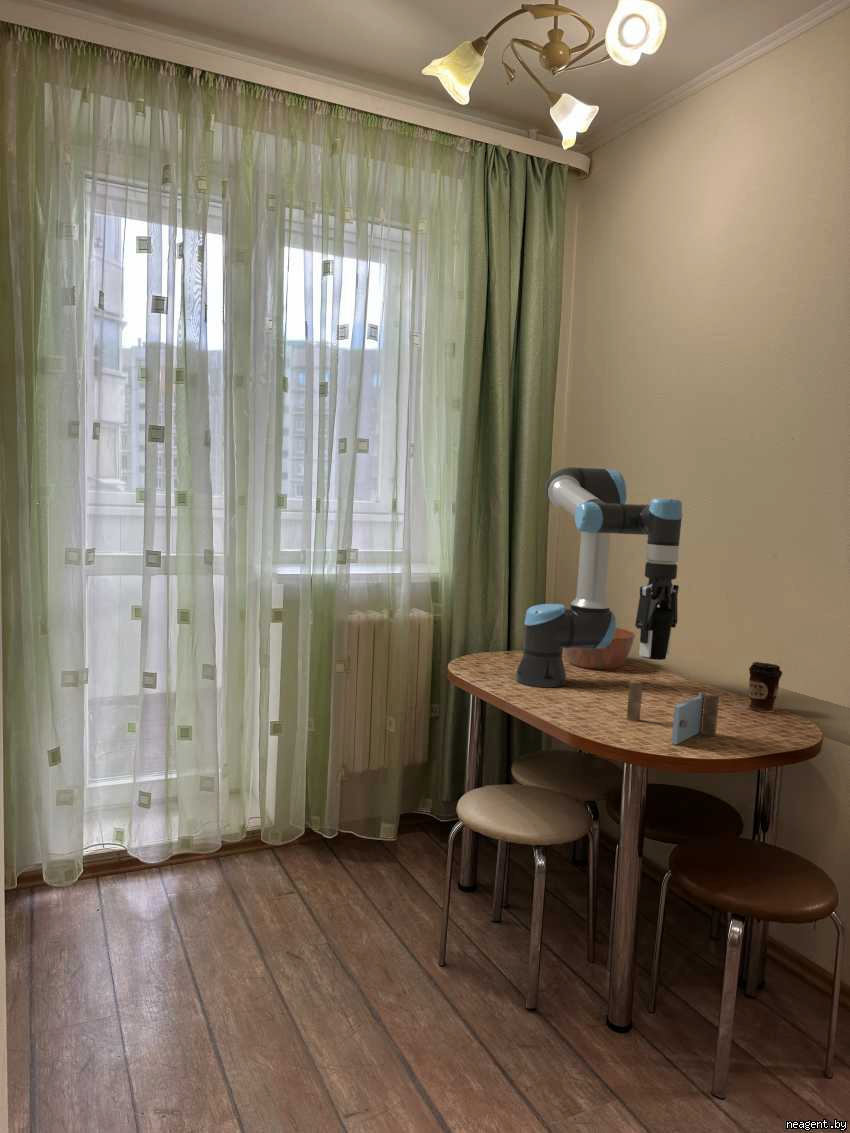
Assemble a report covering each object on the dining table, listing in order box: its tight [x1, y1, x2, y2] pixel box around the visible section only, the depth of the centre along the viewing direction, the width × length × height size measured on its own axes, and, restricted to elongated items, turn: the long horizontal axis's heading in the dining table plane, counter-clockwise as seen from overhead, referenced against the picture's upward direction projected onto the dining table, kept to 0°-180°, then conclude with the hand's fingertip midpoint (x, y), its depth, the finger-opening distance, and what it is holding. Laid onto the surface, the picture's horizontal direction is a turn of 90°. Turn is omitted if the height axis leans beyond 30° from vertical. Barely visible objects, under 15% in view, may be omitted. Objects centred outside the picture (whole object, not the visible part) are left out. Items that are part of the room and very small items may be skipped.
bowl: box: [562, 627, 636, 671], centre depth 288 cm, size 25×25×11 cm
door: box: [671, 691, 706, 745], centre depth 208 cm, size 16×2×10 cm, turn 140°
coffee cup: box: [748, 661, 783, 713], centre depth 239 cm, size 9×8×13 cm
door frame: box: [626, 679, 720, 737], centre depth 217 cm, size 22×2×10 cm, turn 59°
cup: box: [642, 606, 674, 661], centre depth 210 cm, size 8×8×12 cm
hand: (654, 654), depth 211 cm, fingers closed on cup, 8 cm apart
